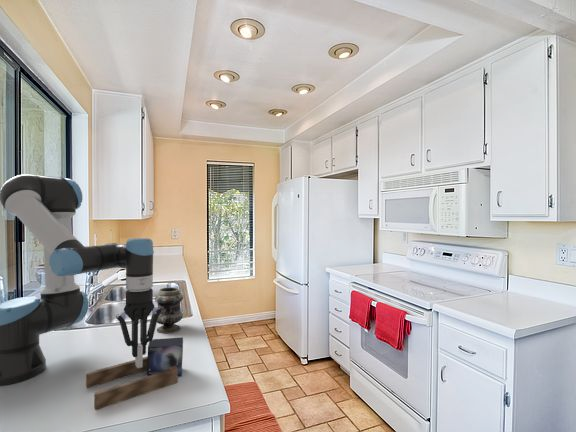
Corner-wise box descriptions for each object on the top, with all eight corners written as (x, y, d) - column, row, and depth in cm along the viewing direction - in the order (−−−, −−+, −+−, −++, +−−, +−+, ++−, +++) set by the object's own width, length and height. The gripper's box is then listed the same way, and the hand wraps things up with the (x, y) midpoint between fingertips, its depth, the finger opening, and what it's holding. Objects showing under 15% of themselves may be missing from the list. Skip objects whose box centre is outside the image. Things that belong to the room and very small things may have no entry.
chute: (95, 409, 86) (95, 392, 86) (85, 385, 97) (86, 370, 97) (177, 382, 100) (177, 367, 100) (160, 364, 111) (160, 351, 111)
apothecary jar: (183, 332, 141) (184, 291, 141) (154, 336, 137) (154, 293, 136) (181, 323, 152) (182, 285, 152) (154, 326, 148) (154, 287, 147)
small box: (145, 381, 100) (147, 347, 100) (148, 371, 106) (149, 339, 106) (181, 376, 103) (183, 344, 103) (181, 367, 109) (183, 336, 109)
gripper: (119, 294, 92) (118, 377, 92) (165, 288, 100) (164, 364, 100) (113, 289, 98) (112, 367, 98) (157, 284, 106) (156, 356, 106)
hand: (138, 366), depth 99 cm, fingers closed
